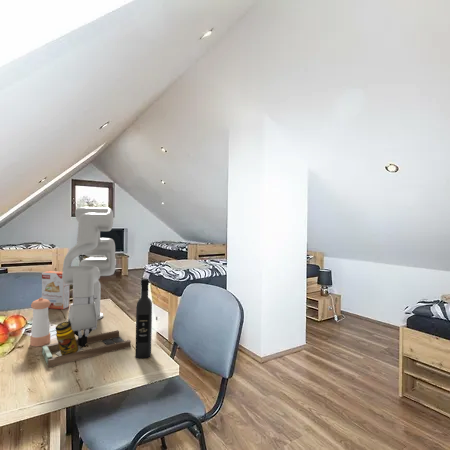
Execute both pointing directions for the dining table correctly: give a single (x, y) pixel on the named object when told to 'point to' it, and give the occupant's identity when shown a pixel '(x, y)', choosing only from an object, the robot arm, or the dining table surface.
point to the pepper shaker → (40, 323)
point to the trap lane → (75, 356)
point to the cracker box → (55, 290)
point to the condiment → (66, 339)
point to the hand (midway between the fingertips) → (82, 346)
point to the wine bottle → (143, 323)
